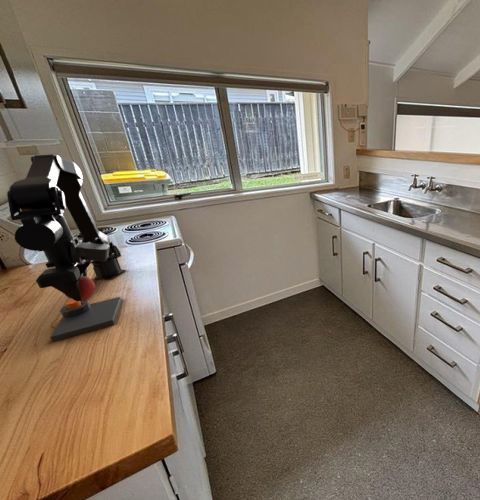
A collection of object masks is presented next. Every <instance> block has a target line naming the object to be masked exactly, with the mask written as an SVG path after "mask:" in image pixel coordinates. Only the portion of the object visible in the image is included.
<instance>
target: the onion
mask: <svg viewBox="0 0 480 500" xmlns="http://www.w3.org/2000/svg"><path fill="white" fill-rule="evenodd" d="M78 282H79V286H80V290H81V295H82V300H81V301H86V300H87V301H88V299H90V298H91V296H92V295H93V294H94V293H95V291H96V284H95V283H94V281H93V280H92V279H91V278H90V277H88V276H87V277H86V276H82V277H81V278H80V279H79V281H78ZM65 297H66V298H68V299H69V300H73V299H72V298H70V297H69V296H67V295H65Z"/></svg>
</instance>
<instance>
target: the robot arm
mask: <svg viewBox="0 0 480 500" xmlns="http://www.w3.org/2000/svg"><path fill="white" fill-rule="evenodd" d="M30 161H31V164H30V167H29V169H28V171H27V174H26V176H25V178H23V179H20V180H17V181H14V182H13V183H12V184H11V185H10V186H9V188H8V190H7V191H6V196H7V202H8V207H9V213H10V219H11V220H12V221H19V220H20V222H21V224H22V225H21V226H19V227H18V228H17V229H16V230H15V232H14V240H15V242H16V243H17V245H19V246H20V247H21V248H23V249H25V250H28V251H33V252H43V253H44V255H45V257H46V260H47V261H46V263H45V266H46V268H47V269H45V270H44V271H42V272H41V273H40V274H39V275H38V277H37V278H36V279H35V281H36V284H37V285H38V287H39V289H46V288H50V287H52V288H54V289H55V290H57V291H58V292H60V293H62V294H64V296H66V295H67V296H69V297H70V298H72V299H71V300H75V301H81V300H82V295H81V290H80V286H79V282H78V281H79V279H80V278H81V277H82V276H86V277H88V268H89V266H90V265H92V266H93V267H92V269H93V272H94V275H95V276H94V279H95V280H112V279H113V278H116V277H117V276H119V275H121V274H123V273H125V272H126V269H122V268H121V265H120V263H119V260H118V259H119V258H121V257H122V254H121V251H120V249H119V247H118V246H117V245H116V244H115V243H114V242H113V241H111V240H110V237H109V236H108V235H106V234H105V233H103V232H101V231H100V230H99V228H98V226H97V224H96V221H95V220H94V218H93V215H92V213H91V211H90V209H89V207H88V205H87V203H86V201H85V198H84V197H83V194H82V192H81V189H82V185H83V179H84V177H83V172H82V171H81V169H80V167H79V166H78V165H77V164H76V163H75V162H74V161H72V160H68V159H65V158H62V157H60V155H58V154H51V153H49V154H35V155H33V156H30ZM65 210H67V211H68V212H69V215H70V216H71V218H72V220H73V222H74V223H75V225H76V227H77V229H78V231H79V233H80V235H81V237H82V239H81V240H80V238H79V237H77V236H73V233H72V231H71V229H70V226H69V224H68V221H67V220H66V217H65V215H64V213H65ZM70 298H69V299H70Z"/></svg>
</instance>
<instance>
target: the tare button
mask: <svg viewBox="0 0 480 500" xmlns="http://www.w3.org/2000/svg"><path fill="white" fill-rule="evenodd" d="M81 305H82V304H81V302H80V301H75V300H73V299H69V300H68V301H66V302H65V306H67V308H68V309H74V308H77V307H79V306H81Z"/></svg>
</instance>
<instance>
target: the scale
mask: <svg viewBox="0 0 480 500" xmlns="http://www.w3.org/2000/svg"><path fill="white" fill-rule="evenodd" d="M80 302H81V304H82V305H81V306H79V307H77V308H74V309H68V308H67V306H66V305H64V306H62V307H61V308H60V310H59V312H60V314H61V316H62V318H61V319H60V321H59V322H58V323H57V325H56V327H55V329H54V330H53V332H52V333H51V335H50V337H49V338H50V340H51V342H52V343H53V342H55V341H60V340H63V339H67V338H70V337H74V336H78V335H81V334H85V333H88V332H92V331H96V330H99V329H104V328H106V327H109V326H113V325H115V324H116V321H117V318H118V315H119V312H120V308H121V306H122V302H123V299H122V296H116V297H113V298H109V299H105V300H101V301H98V302H97V301H96V302H94V303H90V302H89V301H88V299H87V300H86V301H80Z"/></svg>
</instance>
